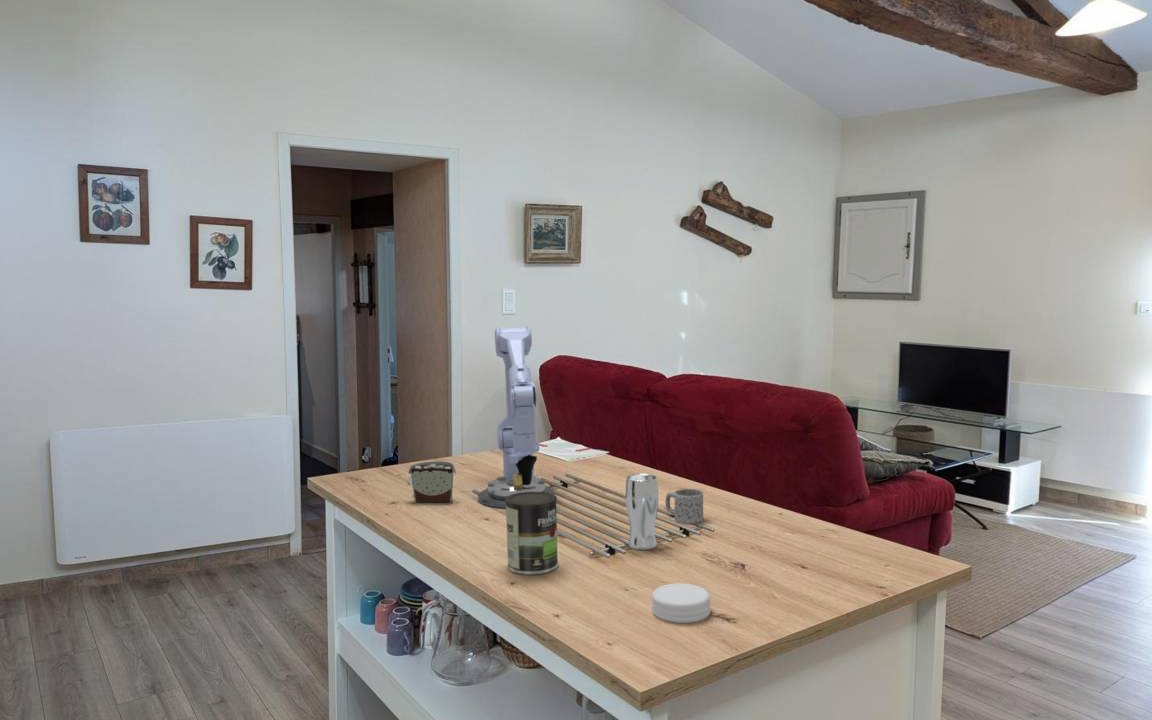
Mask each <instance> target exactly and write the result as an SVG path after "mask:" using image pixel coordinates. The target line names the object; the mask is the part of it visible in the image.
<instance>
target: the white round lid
mask: <svg viewBox="0 0 1152 720" xmlns="http://www.w3.org/2000/svg"><path fill="white" fill-rule="evenodd" d="M651 598H652V599H651V600H652V601H651V605H652V607H651V611H652V614H653V615H654V617H657V618H658V619H660V620H662V621H666V622H669V623H675V624H690V623H697V622H700V621H703V620H705V619H707V618H708V617H709V616H710V613H711V595H710V592H708V591H707V590H706V589H705V588H703V587H702V586H699V585H696V584H689V583H681V582H680V583H668V584H664V585H661V586H659V587H656V588H655V590H654V591H652V594H651Z"/></svg>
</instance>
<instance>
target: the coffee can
mask: <svg viewBox="0 0 1152 720" xmlns="http://www.w3.org/2000/svg"><path fill="white" fill-rule="evenodd" d="M557 500H558V497H557V496H556V494H555V495H553V494H551V493H546V492H521V493H516V494H512V495H510V496H508V497H506V498H505V503H506V509H505V512H506V515H505V517H506V518H505V519H506V547H507V570H509V571H510V572H512V573H514V574H518V575H527V576H529V575H531V576H533V575H543V574H546V573H547V574H548V573H551V572H553V571H554V570H557V568H558V566H559V562H558V534H557V533H558V526H557V525H558V524H557V523H558V519H557V516H558V515H557Z"/></svg>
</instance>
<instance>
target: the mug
mask: <svg viewBox="0 0 1152 720" xmlns="http://www.w3.org/2000/svg"><path fill="white" fill-rule="evenodd" d="M671 498H673V499H674V508H672V507H671ZM665 509H666V511H667V512H668V513H670V514H672V515H674V522H676V523H678V524H683V525H697V524H701V523H702V522H704V492H703V491H702V490H700V489H696V488H695V489H694V488H684V489H683V488H681V489H678V490H675V491H674V492H668V493H666V495H665Z"/></svg>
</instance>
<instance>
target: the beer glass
mask: <svg viewBox="0 0 1152 720" xmlns="http://www.w3.org/2000/svg"><path fill="white" fill-rule="evenodd" d="M625 481H626V482H625V505H626V511H627V512H626V513H627V518H628V524H629V538H628V544H627V545H628V547H629V548H630V549H632V550H635V551H651V550H653V549H655V548H656V547H657V546H658V544H657V539H656V531H655V528H656V519H657V514H658V508H659V507H658V506H659V488H658V485H659V484H658V476H656V474H655V475H654V474H652V473H651V474H650V473H634V474H632V473H631V474H629V475H626V477H625Z"/></svg>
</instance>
